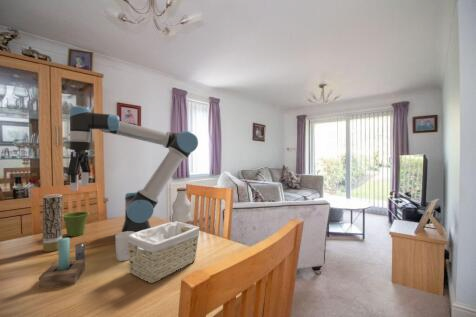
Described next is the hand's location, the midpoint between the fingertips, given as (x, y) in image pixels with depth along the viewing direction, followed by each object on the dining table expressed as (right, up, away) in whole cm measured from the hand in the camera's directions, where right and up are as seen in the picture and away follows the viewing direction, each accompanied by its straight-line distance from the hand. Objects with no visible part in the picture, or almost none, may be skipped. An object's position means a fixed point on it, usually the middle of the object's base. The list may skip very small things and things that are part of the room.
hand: (79, 188), depth 101 cm
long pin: (+10, -29, -22) cm, 38 cm away
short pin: (+7, -29, -10) cm, 31 cm away
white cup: (+23, -29, -5) cm, 38 cm away
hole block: (+10, -29, -22) cm, 38 cm away
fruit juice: (+44, -30, +10) cm, 54 cm away
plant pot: (-17, -28, +20) cm, 39 cm away
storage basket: (+43, -30, -13) cm, 54 cm away
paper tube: (-13, -29, +1) cm, 32 cm away
